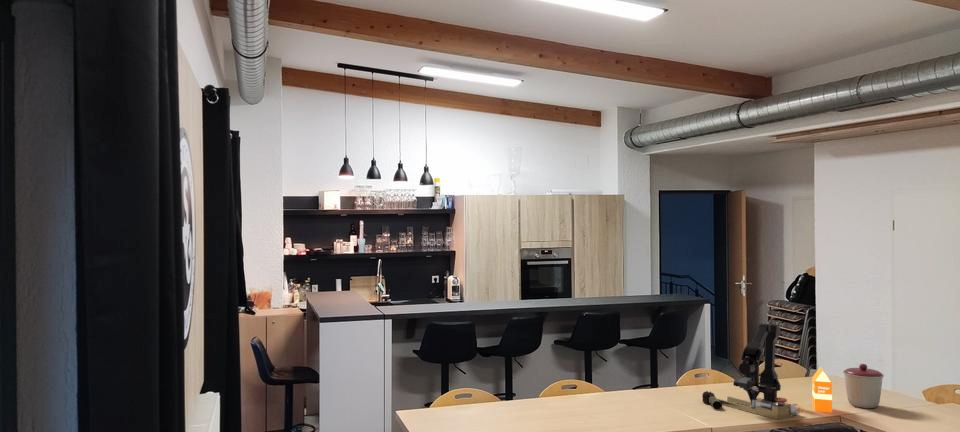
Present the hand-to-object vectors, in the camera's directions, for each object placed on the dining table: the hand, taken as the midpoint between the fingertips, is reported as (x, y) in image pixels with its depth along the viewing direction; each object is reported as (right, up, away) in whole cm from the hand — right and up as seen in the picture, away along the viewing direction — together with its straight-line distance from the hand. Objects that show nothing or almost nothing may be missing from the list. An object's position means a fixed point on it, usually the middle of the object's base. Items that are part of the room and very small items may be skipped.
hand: (752, 403), depth 334 cm
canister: (+59, -4, +8) cm, 59 cm away
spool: (+4, -3, -6) cm, 7 cm away
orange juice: (+35, -3, +1) cm, 35 cm away
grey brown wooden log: (-17, -4, +10) cm, 20 cm away
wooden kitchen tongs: (+3, -3, +1) cm, 4 cm away
